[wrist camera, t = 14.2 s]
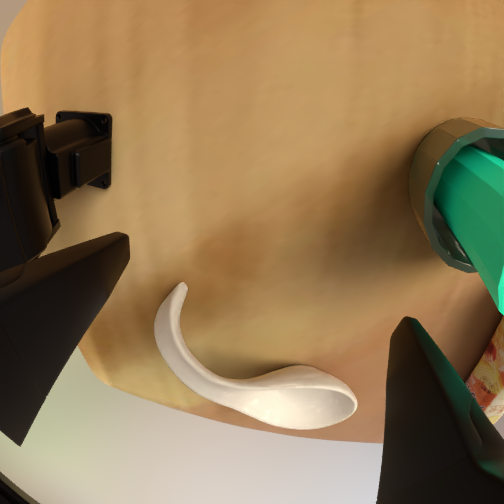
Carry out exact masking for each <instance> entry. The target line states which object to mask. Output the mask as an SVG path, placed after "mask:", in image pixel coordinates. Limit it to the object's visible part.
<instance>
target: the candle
mask: <svg viewBox="0 0 504 504" xmlns="http://www.w3.org/2000/svg"><path fill="white" fill-rule="evenodd" d="M434 201H435V203H436V206H437V209H438V212H439V213H440V215H441V216H442V217H443V219H444V220H445V222H446V223H447V224H448V226H449V227H450V229H451V230H452V232H453V233H454V235H455V236H456V238H457V239H458V241H459V242H460V244H461V245H462V247H463V248H464V250H465V252H466V253H467V255H468V256H469V258H470V260H471V261H472V263H473V265H474V266H475V268H476V270H477V271H478V273H479V275H480V277H481V278H482V280H483V282H484V284H485V285H486V287H487V289H488V291H489V293H490V295H491V297H492V298H493V300H494V302H495V304H496V306H497V308H498V310H499V311H500V312H501V313H502V314H503V315H504V161H503V160H502V159H500V158H498V157H497V156H495V155H493V154H491V153H490V152H488V151H486V150H484V149H483V148H478V147H473V146H468V145H466V146H464V147H462V148H461V149H460V150H459V152H458V153H457V154H456V155H455V156H454V157H453V158H452V159H451V161H450V162H449V163H448V164H447V165H446V166H445V167H444V170H443V172H442V175H441V177H440V180H439V182H438V185H437V187H436V190H435V192H434Z"/></svg>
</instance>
